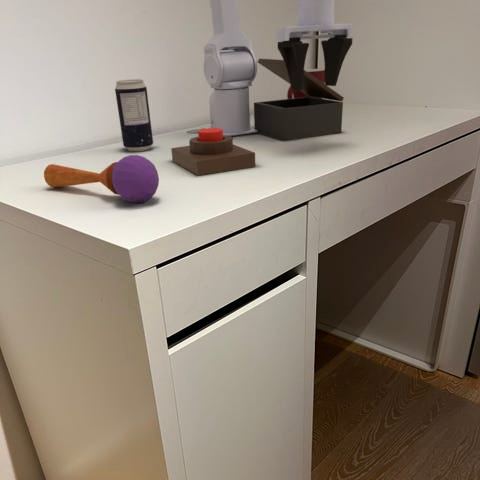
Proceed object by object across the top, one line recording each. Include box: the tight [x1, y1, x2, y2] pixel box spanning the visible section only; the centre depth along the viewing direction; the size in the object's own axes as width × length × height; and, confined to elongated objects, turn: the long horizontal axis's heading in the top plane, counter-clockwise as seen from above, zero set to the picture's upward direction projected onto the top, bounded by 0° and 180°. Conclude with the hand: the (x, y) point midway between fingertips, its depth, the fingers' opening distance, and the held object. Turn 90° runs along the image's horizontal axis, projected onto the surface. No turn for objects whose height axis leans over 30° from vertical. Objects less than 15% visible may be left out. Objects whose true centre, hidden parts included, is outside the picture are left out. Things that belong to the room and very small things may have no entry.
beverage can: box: [114, 78, 154, 152], centre depth 95 cm, size 6×6×12 cm
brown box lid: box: [257, 58, 345, 102], centre depth 102 cm, size 14×13×1 cm
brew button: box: [197, 127, 223, 142], centre depth 82 cm, size 4×4×2 cm
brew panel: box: [170, 135, 256, 176], centre depth 84 cm, size 12×10×4 cm
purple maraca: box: [43, 154, 160, 204], centre depth 70 cm, size 6×6×20 cm
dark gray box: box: [253, 97, 344, 142], centre depth 105 cm, size 14×13×6 cm
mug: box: [286, 68, 325, 99], centre depth 123 cm, size 11×8×10 cm
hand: (314, 87), depth 86 cm, fingers open, 7 cm apart
